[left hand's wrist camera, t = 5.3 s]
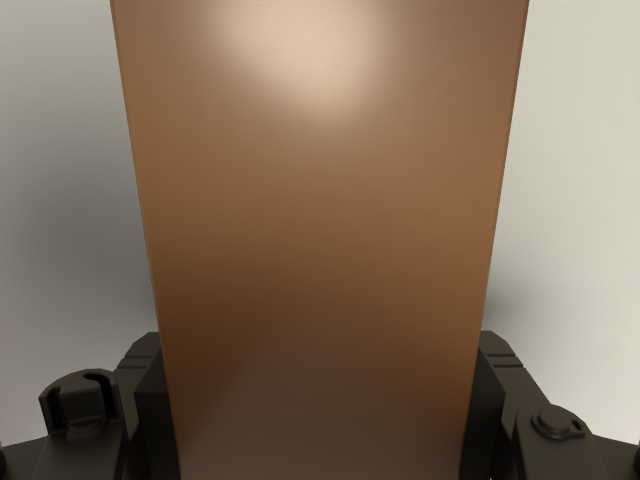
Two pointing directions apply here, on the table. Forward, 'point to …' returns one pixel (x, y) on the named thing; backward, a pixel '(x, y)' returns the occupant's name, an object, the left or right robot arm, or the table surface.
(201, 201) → the post
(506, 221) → the table surface
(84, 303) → the table surface
